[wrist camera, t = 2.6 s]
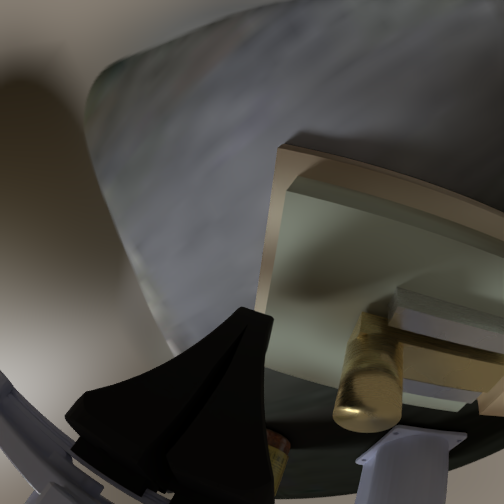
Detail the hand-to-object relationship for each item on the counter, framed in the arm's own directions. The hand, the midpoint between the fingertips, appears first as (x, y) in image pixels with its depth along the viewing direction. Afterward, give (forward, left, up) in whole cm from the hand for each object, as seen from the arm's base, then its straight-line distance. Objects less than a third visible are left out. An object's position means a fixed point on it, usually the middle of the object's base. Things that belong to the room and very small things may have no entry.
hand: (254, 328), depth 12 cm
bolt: (0, -8, -2) cm, 8 cm away
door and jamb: (0, -12, -5) cm, 13 cm away
